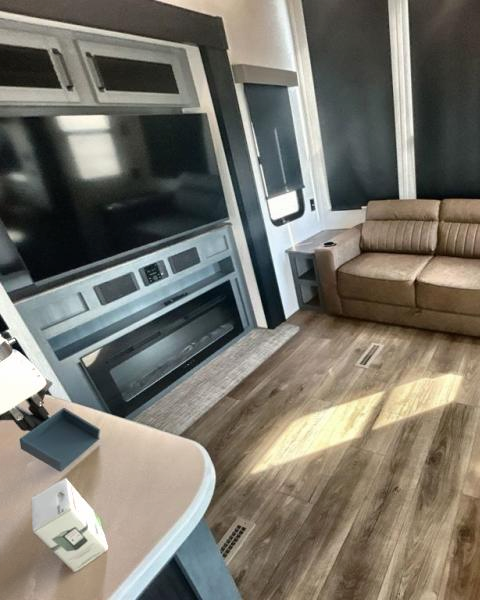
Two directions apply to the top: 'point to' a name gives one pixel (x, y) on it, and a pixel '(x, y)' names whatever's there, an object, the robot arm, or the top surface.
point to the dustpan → (59, 438)
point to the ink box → (68, 525)
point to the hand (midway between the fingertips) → (37, 424)
